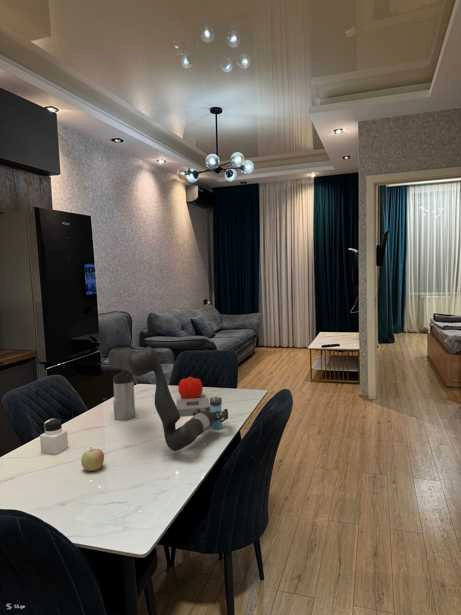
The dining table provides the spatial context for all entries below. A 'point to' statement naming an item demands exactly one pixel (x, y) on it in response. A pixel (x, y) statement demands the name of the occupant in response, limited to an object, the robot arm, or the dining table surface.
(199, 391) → the tomato
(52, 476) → the dining table surface
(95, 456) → the fruit
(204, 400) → the socket block
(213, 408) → the plug
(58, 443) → the medicine bottle
